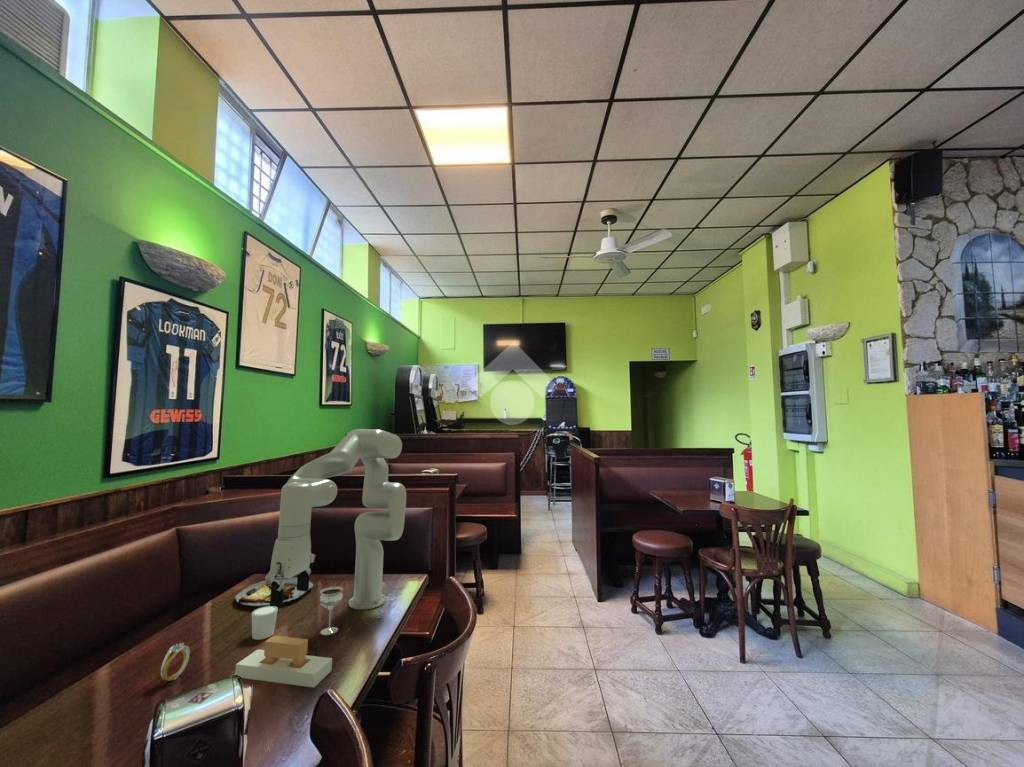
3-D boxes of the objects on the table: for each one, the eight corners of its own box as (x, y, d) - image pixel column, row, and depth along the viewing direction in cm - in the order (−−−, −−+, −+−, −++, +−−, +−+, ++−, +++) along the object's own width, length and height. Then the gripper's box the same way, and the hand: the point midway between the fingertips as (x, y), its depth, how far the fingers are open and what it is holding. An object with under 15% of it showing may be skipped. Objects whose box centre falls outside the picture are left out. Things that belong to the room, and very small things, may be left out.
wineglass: (325, 638, 120) (328, 596, 122) (312, 632, 124) (315, 591, 125) (345, 629, 126) (348, 589, 127) (332, 623, 129) (335, 584, 131)
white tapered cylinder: (263, 642, 118) (265, 616, 119) (243, 639, 119) (245, 614, 120) (281, 630, 125) (283, 606, 125) (262, 628, 126) (264, 604, 127)
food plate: (285, 612, 137) (286, 601, 138) (218, 610, 138) (219, 600, 138) (321, 584, 162) (322, 575, 162) (265, 583, 163) (265, 573, 163)
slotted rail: (256, 661, 108) (257, 649, 109) (331, 670, 105) (332, 658, 105) (234, 677, 101) (236, 664, 102) (314, 687, 98) (314, 674, 98)
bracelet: (181, 670, 104) (185, 637, 105) (192, 671, 103) (195, 638, 104) (154, 687, 97) (158, 651, 98) (165, 688, 97) (169, 652, 97)
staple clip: (271, 668, 105) (273, 635, 106) (305, 672, 104) (308, 639, 104) (262, 674, 102) (265, 641, 103) (297, 679, 101) (300, 645, 102)
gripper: (303, 522, 116) (299, 584, 114) (256, 538, 99) (250, 611, 97) (327, 523, 115) (323, 586, 113) (283, 540, 98) (278, 614, 96)
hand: (289, 597), depth 105 cm, fingers open, 9 cm apart
